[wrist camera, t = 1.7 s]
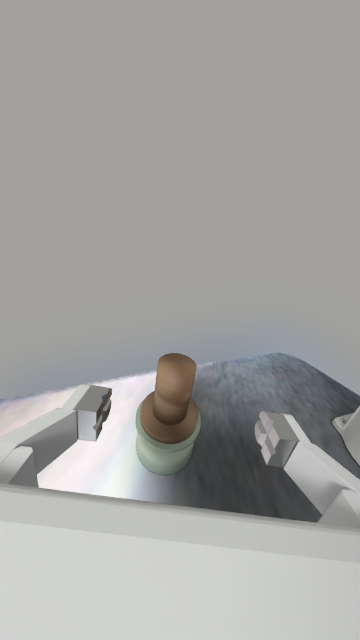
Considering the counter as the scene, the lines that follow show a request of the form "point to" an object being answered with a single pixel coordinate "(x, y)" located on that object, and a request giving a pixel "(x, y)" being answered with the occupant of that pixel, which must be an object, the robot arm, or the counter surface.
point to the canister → (163, 450)
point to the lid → (171, 401)
